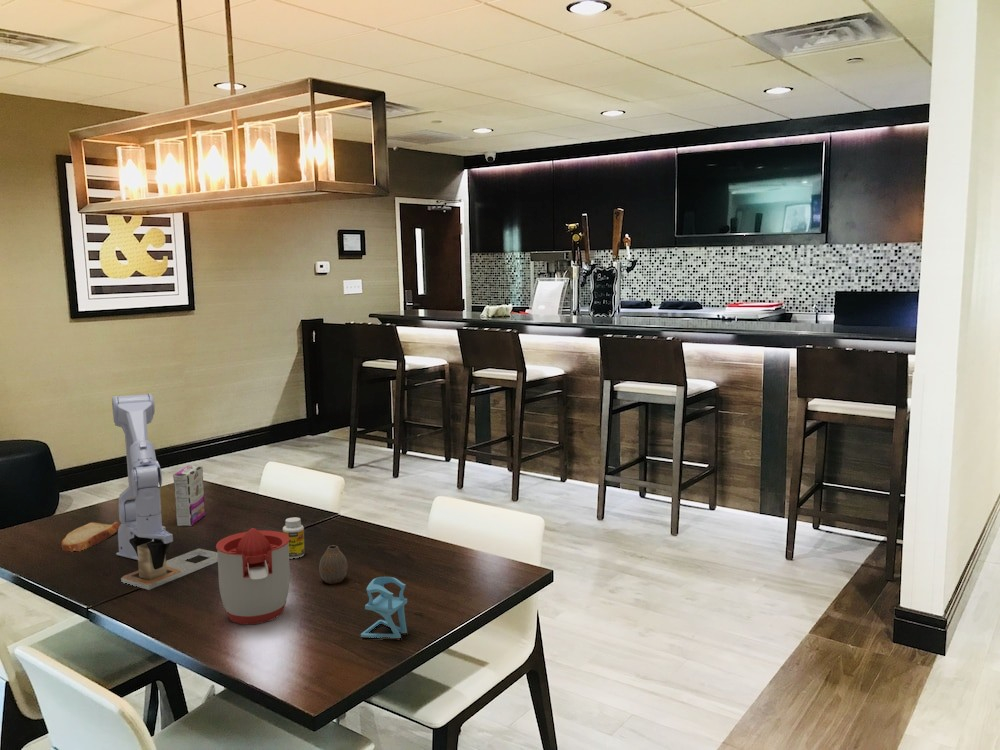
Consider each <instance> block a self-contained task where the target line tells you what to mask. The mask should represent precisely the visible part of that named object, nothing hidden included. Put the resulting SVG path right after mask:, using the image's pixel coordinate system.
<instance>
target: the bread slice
mask: <svg viewBox="0 0 1000 750" xmlns="http://www.w3.org/2000/svg"><path fill="white" fill-rule="evenodd" d="M120 525H121V522H120V521H119V522H118V521H114V523H111V524H108V523H102V522H101V523H100V522H93V521H91V522H88V523H86V524H84V525H81V526H79V527H76V528H75V529H73V530H72V531H69V532H68V533H67V534H66V536H65V537H64V538H63V539H62V540H61V544H60V548H62V549H61V550H62V551H64V552H67V551H71V552H70V553H74V552H73V551H79V552H82V551H81V550H83V551H85V550H87V548H88V549H90V548H92V547H94V546H96V544H97V545H98V544H100V543H102V542H104V541H106V540H107V539H110V538H111V537H112V535H113V536H114V535H115V534H116V533H118V529H119V527H120ZM93 545H94V546H93ZM89 547H90V548H89ZM84 549H85V550H84Z"/></svg>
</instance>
